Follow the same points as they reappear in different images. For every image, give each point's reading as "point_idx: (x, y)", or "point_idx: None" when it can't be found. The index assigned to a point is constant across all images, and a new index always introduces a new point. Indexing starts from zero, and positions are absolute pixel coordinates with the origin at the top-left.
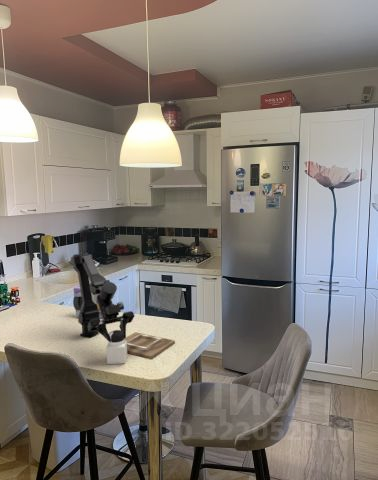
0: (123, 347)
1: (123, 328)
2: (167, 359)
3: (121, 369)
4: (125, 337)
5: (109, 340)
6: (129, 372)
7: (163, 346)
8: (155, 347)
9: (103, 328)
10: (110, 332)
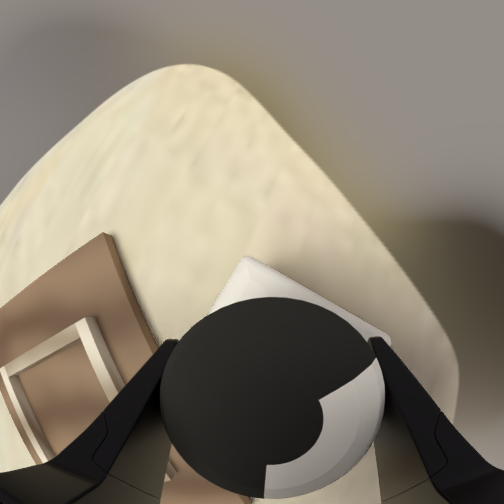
0: (250, 257)
1: (128, 428)
2: (67, 193)
3: (305, 213)
4: (172, 339)
5: (385, 343)
6: (278, 158)
7: (20, 306)
8: (45, 324)
9: (480, 474)
10: (348, 452)
